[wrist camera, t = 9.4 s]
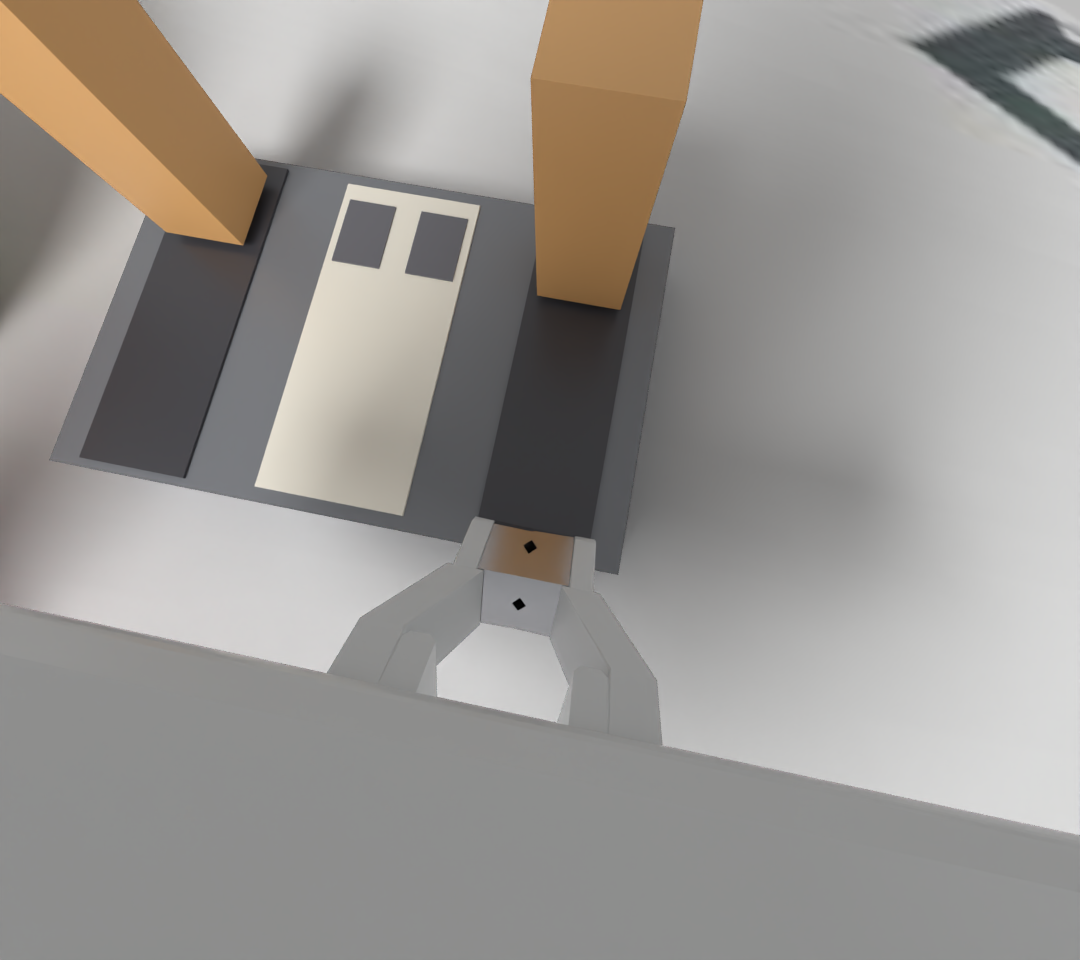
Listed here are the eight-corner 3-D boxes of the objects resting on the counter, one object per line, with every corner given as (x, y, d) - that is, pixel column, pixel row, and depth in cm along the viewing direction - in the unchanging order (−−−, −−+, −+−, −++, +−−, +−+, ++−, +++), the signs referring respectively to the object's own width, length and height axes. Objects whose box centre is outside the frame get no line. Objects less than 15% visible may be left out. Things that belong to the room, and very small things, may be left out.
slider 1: (243, 245, 15) (-2, -2, 8) (166, 232, 16) (-137, -22, 9) (267, 175, 16) (53, -112, 9) (192, 163, 16) (-75, -130, 9)
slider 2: (620, 310, 15) (686, 101, 8) (537, 295, 15) (530, 78, 8) (633, 235, 15) (706, -23, 8) (552, 222, 15) (559, -44, 9)
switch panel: (606, 570, 16) (619, 574, 14) (121, 473, 17) (43, 459, 14) (657, 271, 18) (676, 224, 16) (221, 197, 19) (169, 141, 16)
